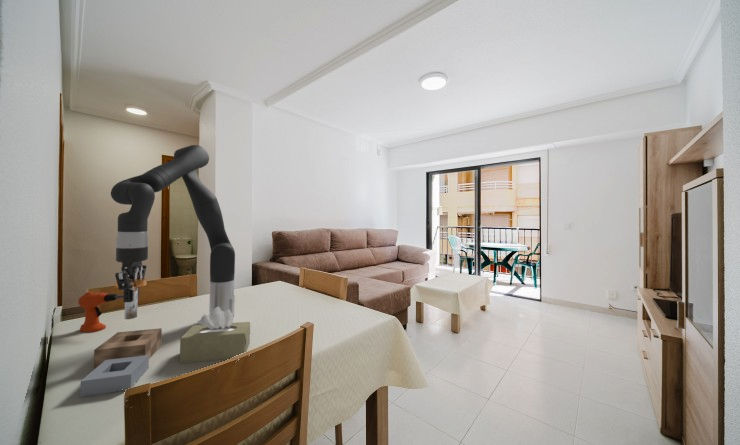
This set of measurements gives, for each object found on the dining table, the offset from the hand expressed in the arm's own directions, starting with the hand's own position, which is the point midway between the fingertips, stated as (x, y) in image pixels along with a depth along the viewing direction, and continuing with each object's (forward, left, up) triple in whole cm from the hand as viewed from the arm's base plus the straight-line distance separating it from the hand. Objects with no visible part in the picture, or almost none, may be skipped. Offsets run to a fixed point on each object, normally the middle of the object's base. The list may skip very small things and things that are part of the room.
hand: (131, 299), depth 83 cm
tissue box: (-25, +5, -19) cm, 32 cm away
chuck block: (0, 0, -18) cm, 18 cm away
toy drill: (+19, -26, -18) cm, 37 cm away
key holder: (-3, +14, -18) cm, 23 cm away
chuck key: (0, 0, -6) cm, 6 cm away
